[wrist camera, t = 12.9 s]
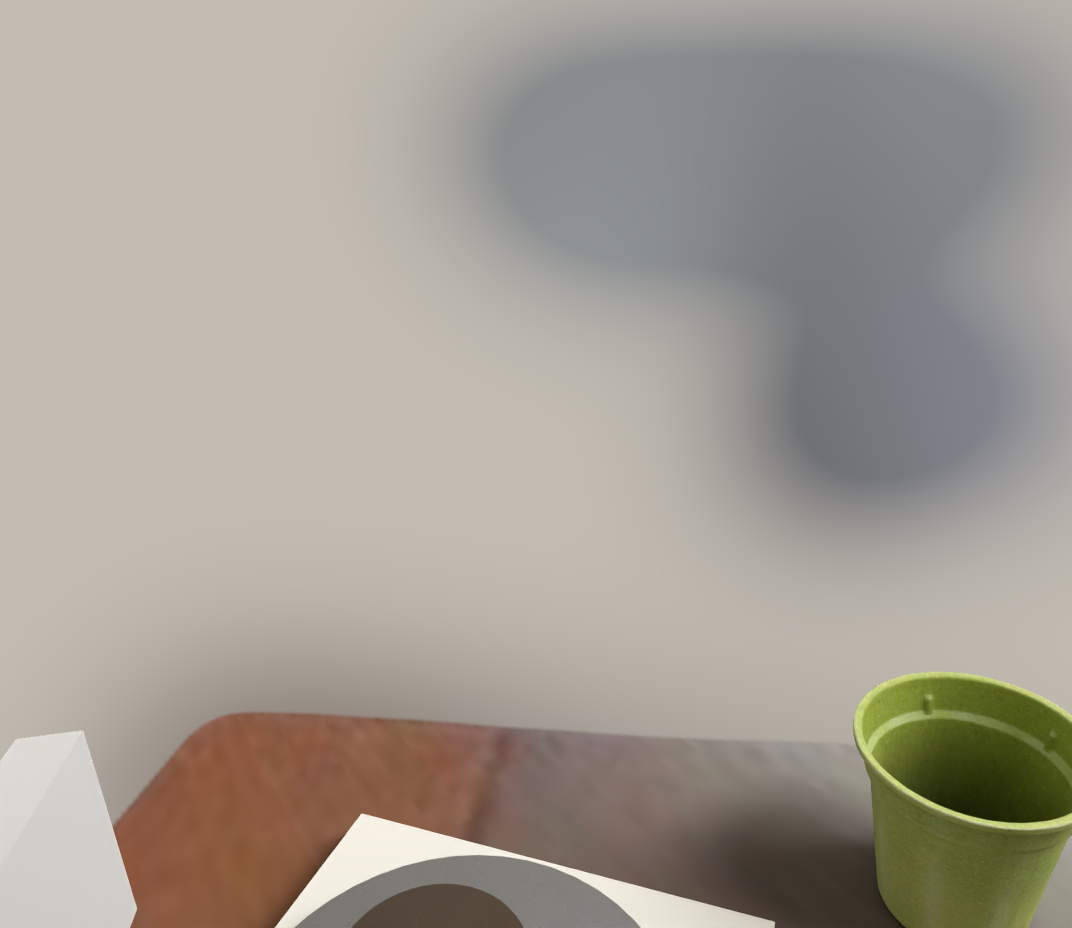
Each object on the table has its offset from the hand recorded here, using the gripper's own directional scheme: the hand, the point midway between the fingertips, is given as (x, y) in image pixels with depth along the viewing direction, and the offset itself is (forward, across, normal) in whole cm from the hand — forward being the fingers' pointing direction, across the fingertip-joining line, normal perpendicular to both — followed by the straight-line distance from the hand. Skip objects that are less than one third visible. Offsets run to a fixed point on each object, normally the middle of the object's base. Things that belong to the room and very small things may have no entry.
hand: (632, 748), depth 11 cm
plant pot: (+19, +17, -26) cm, 37 cm away
